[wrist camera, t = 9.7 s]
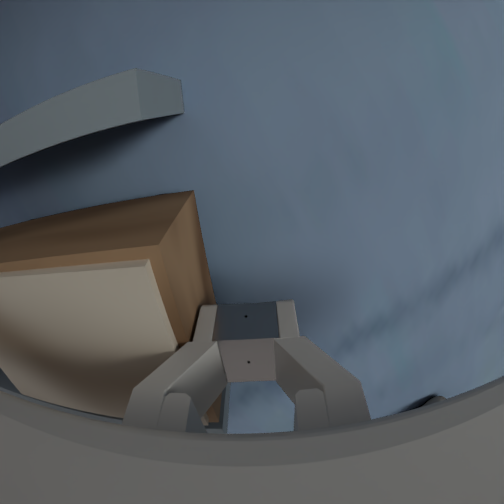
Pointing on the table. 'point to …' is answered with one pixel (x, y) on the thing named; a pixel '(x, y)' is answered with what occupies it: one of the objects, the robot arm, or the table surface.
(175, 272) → the tan block
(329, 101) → the table surface
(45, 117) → the bay
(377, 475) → the robot arm
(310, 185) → the table surface
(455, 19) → the table surface
